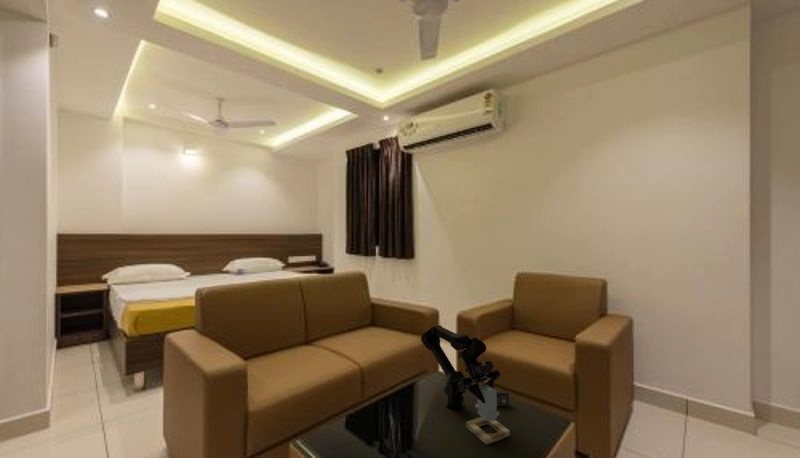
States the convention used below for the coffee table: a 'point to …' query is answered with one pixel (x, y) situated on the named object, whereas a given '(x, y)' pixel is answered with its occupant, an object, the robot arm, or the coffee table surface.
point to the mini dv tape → (502, 399)
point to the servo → (488, 403)
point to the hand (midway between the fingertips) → (489, 401)
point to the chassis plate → (485, 437)
